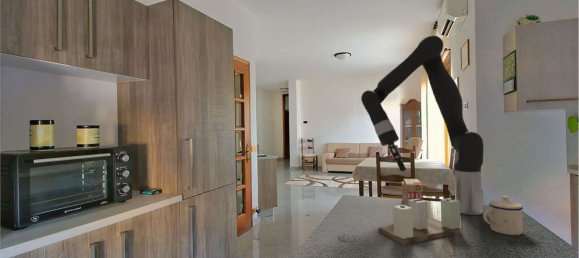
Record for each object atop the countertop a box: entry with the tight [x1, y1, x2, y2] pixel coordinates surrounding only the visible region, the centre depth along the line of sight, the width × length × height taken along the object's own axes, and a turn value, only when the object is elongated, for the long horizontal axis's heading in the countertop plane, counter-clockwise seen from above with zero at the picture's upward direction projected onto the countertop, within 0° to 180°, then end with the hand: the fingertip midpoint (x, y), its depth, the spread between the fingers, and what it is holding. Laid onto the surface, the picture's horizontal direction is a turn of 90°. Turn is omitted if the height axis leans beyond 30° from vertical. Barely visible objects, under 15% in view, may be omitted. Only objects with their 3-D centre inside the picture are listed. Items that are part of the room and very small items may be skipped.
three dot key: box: [409, 198, 429, 230], centre depth 96 cm, size 4×4×9 cm
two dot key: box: [440, 197, 461, 229], centre depth 95 cm, size 4×4×9 cm
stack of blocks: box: [401, 178, 424, 207], centre depth 127 cm, size 21×6×12 cm, turn 164°
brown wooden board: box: [377, 217, 462, 246], centre depth 96 cm, size 24×12×2 cm, turn 110°
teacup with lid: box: [482, 195, 524, 236], centre depth 95 cm, size 12×9×12 cm
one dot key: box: [392, 204, 413, 239], centre depth 89 cm, size 4×4×9 cm
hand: (403, 170), depth 115 cm, fingers closed
